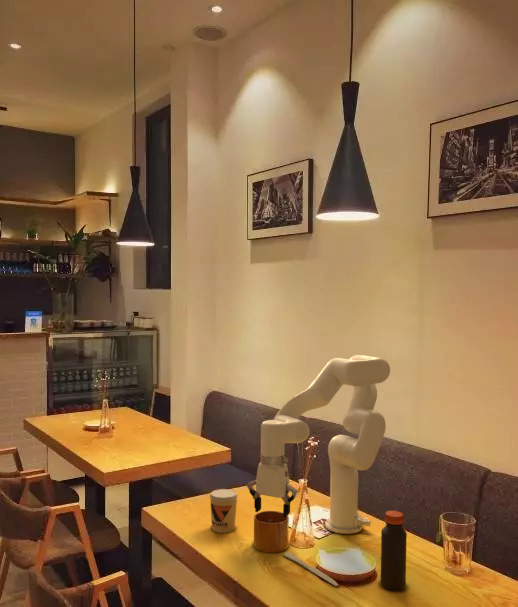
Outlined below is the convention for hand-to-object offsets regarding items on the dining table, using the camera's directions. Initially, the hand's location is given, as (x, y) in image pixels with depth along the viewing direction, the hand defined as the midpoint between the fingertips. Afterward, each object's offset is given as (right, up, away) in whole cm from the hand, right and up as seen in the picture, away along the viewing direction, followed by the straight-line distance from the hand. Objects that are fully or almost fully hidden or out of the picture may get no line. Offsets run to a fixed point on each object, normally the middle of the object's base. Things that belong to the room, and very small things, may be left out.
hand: (272, 513), depth 190 cm
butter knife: (+11, -11, -17) cm, 23 cm away
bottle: (+33, -11, -25) cm, 43 cm away
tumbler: (0, -10, 0) cm, 10 cm away
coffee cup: (-16, -10, +13) cm, 23 cm away
